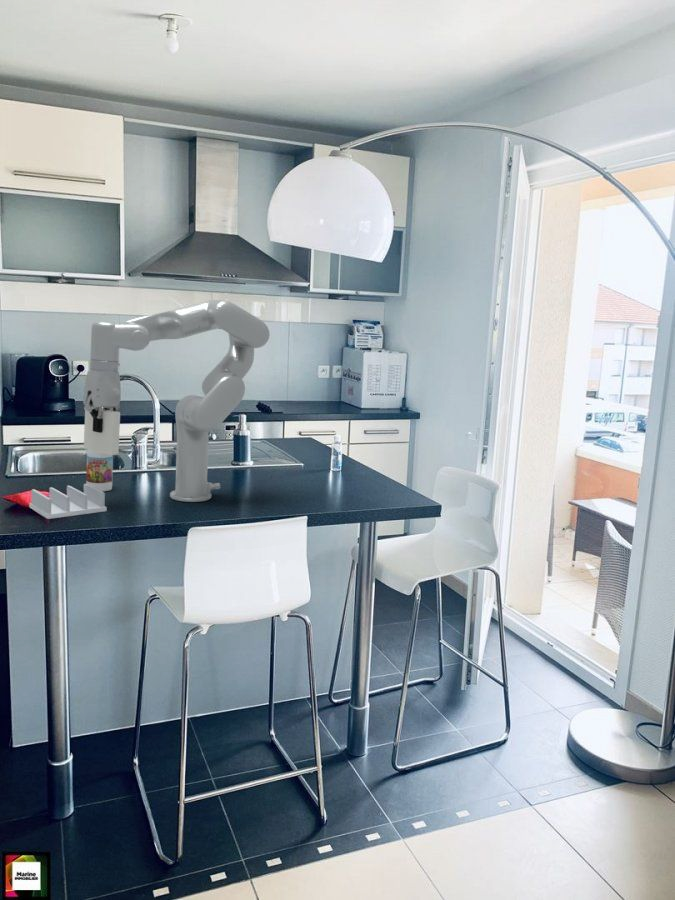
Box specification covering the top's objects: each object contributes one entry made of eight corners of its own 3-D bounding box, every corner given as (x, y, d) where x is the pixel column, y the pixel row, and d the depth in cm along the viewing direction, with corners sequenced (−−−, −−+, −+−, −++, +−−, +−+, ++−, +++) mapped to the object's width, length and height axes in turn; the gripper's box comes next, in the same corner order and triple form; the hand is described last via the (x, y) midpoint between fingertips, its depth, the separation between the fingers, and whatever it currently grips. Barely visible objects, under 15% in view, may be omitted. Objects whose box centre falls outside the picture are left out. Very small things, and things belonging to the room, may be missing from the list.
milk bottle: (85, 486, 234) (86, 423, 230) (111, 486, 237) (112, 424, 233) (86, 492, 227) (87, 428, 223) (113, 492, 230) (114, 428, 226)
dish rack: (86, 500, 219) (86, 483, 218) (106, 511, 209) (106, 493, 208) (29, 507, 207) (29, 489, 206) (47, 519, 198) (47, 500, 197)
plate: (90, 447, 215) (91, 406, 213) (118, 454, 210) (120, 412, 208) (83, 448, 213) (85, 407, 211) (112, 455, 208) (113, 412, 206)
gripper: (115, 364, 216) (112, 427, 220) (72, 365, 202) (69, 431, 205) (134, 367, 213) (131, 431, 216) (92, 368, 199) (89, 436, 202)
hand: (101, 430), depth 211 cm, fingers closed on plate, 2 cm apart
